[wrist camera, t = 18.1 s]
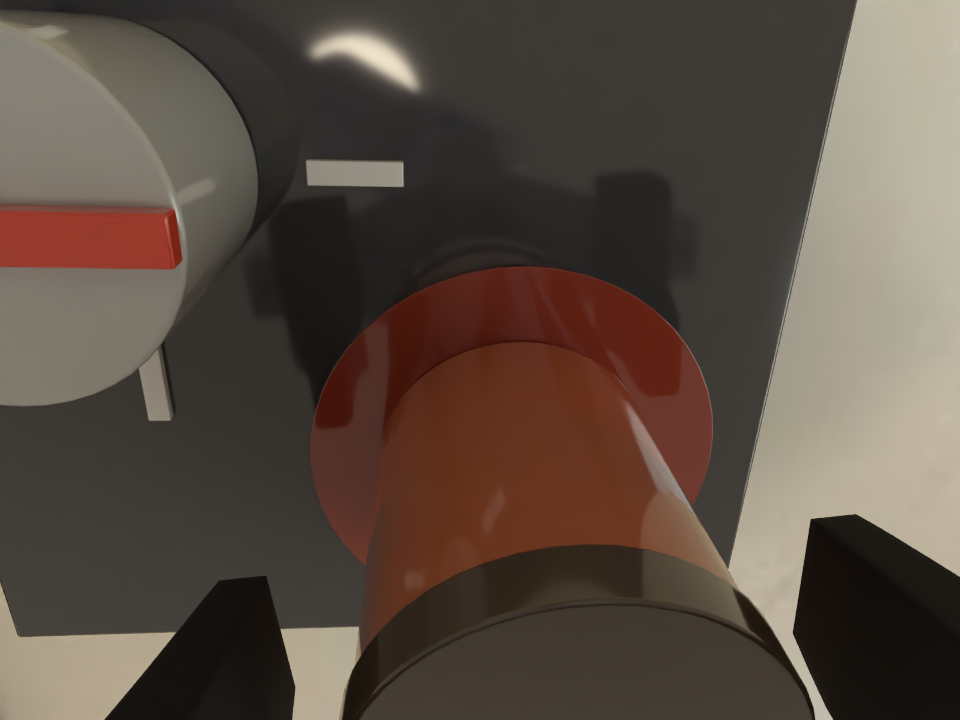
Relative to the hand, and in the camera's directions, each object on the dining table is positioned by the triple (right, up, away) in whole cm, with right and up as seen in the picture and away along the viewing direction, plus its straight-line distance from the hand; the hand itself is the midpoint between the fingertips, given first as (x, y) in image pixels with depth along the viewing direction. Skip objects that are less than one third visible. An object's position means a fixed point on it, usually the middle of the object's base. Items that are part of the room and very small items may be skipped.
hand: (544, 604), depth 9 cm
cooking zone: (0, +2, +3) cm, 4 cm away
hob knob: (-6, +6, +1) cm, 9 cm away
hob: (-3, +4, +4) cm, 6 cm away
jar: (0, +1, +3) cm, 4 cm away
